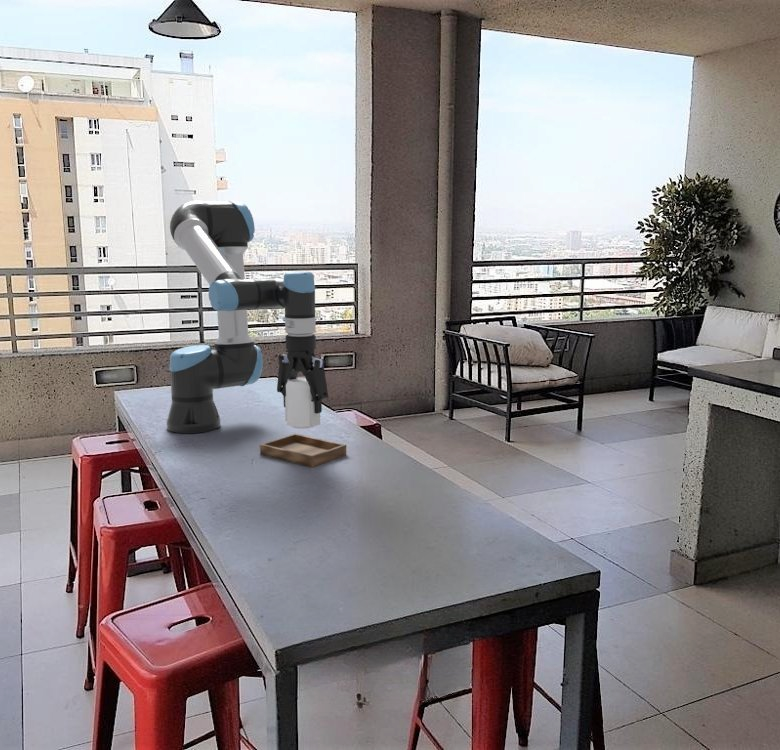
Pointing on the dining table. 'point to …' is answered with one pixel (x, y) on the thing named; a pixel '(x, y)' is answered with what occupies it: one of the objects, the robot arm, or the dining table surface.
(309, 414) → the beverage can
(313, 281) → the robot arm
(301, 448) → the walnut tray
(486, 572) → the dining table surface
